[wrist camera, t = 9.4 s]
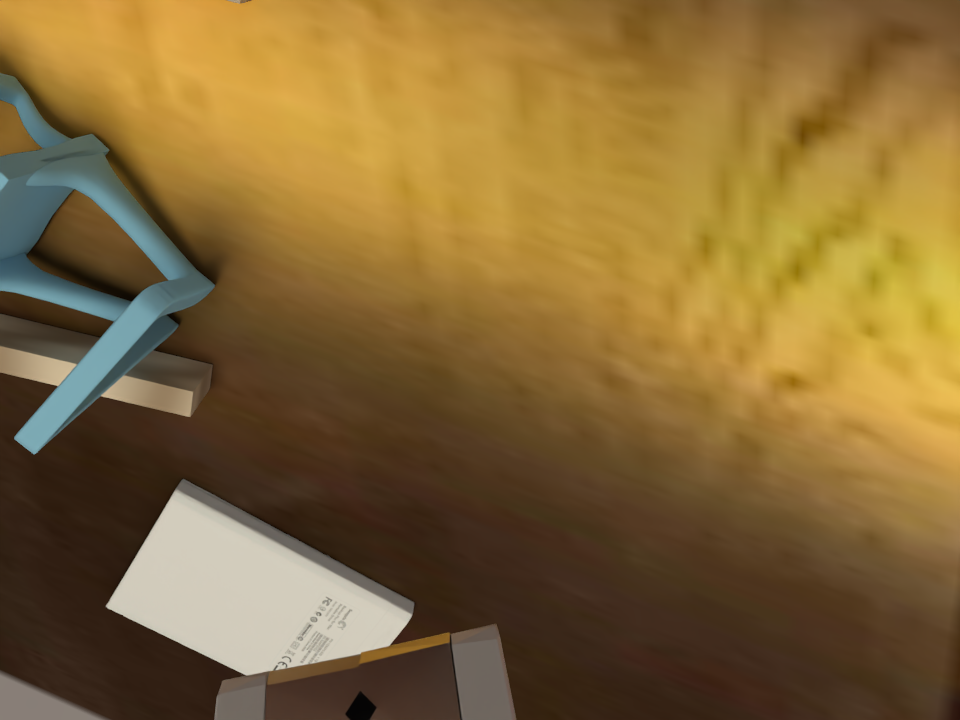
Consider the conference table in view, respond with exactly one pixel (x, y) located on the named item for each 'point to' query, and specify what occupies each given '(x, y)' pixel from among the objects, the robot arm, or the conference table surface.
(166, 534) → the external hard drive
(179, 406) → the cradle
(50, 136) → the chair
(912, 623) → the conference table surface
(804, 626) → the conference table surface
